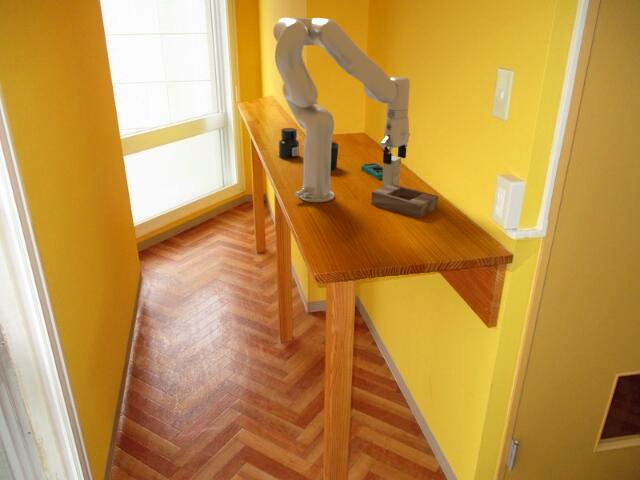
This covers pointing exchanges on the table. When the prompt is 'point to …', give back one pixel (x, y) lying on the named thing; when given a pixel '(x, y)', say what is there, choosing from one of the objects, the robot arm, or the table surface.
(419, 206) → the rail
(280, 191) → the table surface
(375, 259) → the table surface
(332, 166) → the pen holder
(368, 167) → the digital multimeter
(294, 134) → the ink bottle
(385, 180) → the skincare box
